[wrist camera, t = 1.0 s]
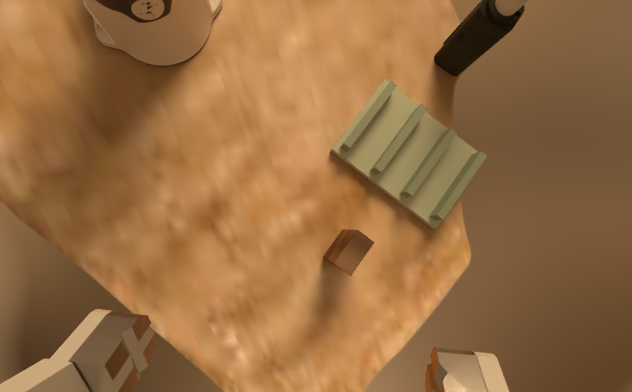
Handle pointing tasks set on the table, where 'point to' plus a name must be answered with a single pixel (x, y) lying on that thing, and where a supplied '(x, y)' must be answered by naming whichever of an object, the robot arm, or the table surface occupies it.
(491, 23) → the candle
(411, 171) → the rack
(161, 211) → the table surface
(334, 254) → the block
